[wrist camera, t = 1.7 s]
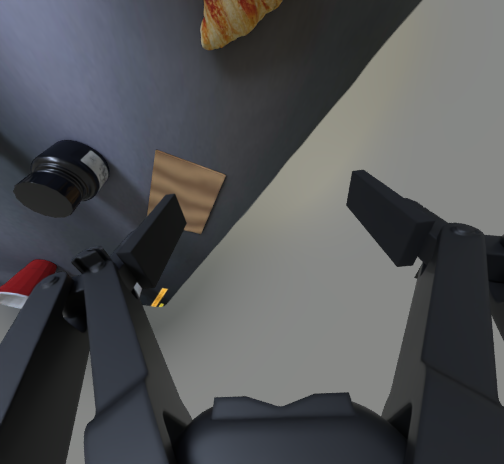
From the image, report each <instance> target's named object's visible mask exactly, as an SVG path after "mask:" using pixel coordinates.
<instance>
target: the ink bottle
mask: <svg viewBox="0 0 504 464" xmlns="http://www.w3.org/2000/svg"><path fill="white" fill-rule="evenodd" d="M108 177H109V167H108V164H107V162H106V160H105V159H104V158H103V157H102V155H100V154H99V153H98V152H97V151H96V150H94V149H93V148H91V147H89V146H87V145H85V144H83V143H80V142H77V141H72V140H61V141H58V142H57V143H55V144H54V145H52V146H51V147H50V148H48V149H47V150H45V151H44V152H43V153H41V154H40V155H38V156H37V157H36V158H35V159H34V160H33V161H32V163H31V174H29V175H28V176H26V177H25V178H24V179H23V180H21V181H20V182H19V183H18V184H16V185H15V188H14V190H13V192H14V194H15V196H16V198H17V199H18V200H19V201H20V202H21V203H22V204H23V205H24V206H26V207H28V208H29V209H31V210H33V211H34V212H37V213H40V214H43V215H45V216H50V217H55V218H57V217H66V216H69V215H71V214H72V213H73V211H74V210H75V209H76V208H77V206H78V205H79V204H80V202H81V201H87V200H90V199H92V198H93V197H94V196H95V195H96V194H97V193H98V191H99V190H100V189H101V187H102V186H103V184H104V183H105V182H106V180H107V179H108Z"/></svg>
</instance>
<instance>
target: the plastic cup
mask: <svg viewBox="0 0 504 464" xmlns="http://www.w3.org/2000/svg"><path fill="white" fill-rule="evenodd" d="M56 268H57V267H56V265H55V264H54V263H52V262H49V261H46V260H33V261H32V262H30V263H29V264H28V265H27V266H26V267H25V268H23V269H22V270H20V271H19V272H18V273H17V274H16V275H15V276H13V277H12V278H11V279H10V280H9V281H8V282H6V283H5V284H4V285H2V286H1V287H0V304H3V305H6V306H10V307H16V308H22V307H23V305H24V304H25V302H26V300H27V299H28V297H29V295H30V294H31V292H32V290H33V289H34V287H35V286H36V285H37V284H38V283H39V282H40V281H41V280H42V279H44V278H46V277H47V276H49V275H52V274H54V273H55V271H56Z"/></svg>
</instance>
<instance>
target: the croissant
mask: <svg viewBox="0 0 504 464" xmlns="http://www.w3.org/2000/svg"><path fill="white" fill-rule="evenodd" d="M282 1H283V0H204V18H203V21H202V23H201V28H200V32H201V43H202V47H203V48H205V49H206V50H213V49H214V48H215V49H219V47H220V48H222V47H224V46H225V45H226V44H228V43H229V42H231V41H234V40H236V39H237V38H238V37H241V36H245V35H247V34H248V33H249V32H251V31H252V30H253V29H254V27H255V26H256V25H257V23H258V22H259V21H260V20H262V19H263V17H264V16H265V14H267V13H268V12H271V11H272V10H275V9H276V8H278V7H279V5H280V4H281V2H282Z"/></svg>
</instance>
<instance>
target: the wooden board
mask: <svg viewBox="0 0 504 464" xmlns="http://www.w3.org/2000/svg"><path fill="white" fill-rule="evenodd" d="M225 176H226V175H225V174H222V173H219V172H216V171H214V170H211V169H208V168H205V167H203V166H200V165H197V164H194V163H192V162H189V161H186V160H183V159H181V158H178V157H175V156H173V155H170V154H167V153H164V152H162V151H159V150H156V151H155V159H154V167H153V174H152V182H151V190H150V198H149V205H148V213H147V216H148V215H149V214H150V212H151V211H152V210H153V209H154V208H155V207H156V205H157V204H158V203H159V202H160V201H161V199H162V198H163V197H164V196H165V195H167V194H176V197H177V199H178V202H179V205H180V207H181V210H182V212H183V215H184V217H185V220H186V222H187V224H186V226H185V228H184V230H187V231H191V232H196V233H200V234H201V233H202V230H203V228H204V225H205V223H206V221H207V218H208V216H209V214H210V211H211V209H212V207H213V204H214V202H215V200H216V197H217V195H218V192H219V190H220V188H221V185H222V183H223V181H224V178H225Z"/></svg>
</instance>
